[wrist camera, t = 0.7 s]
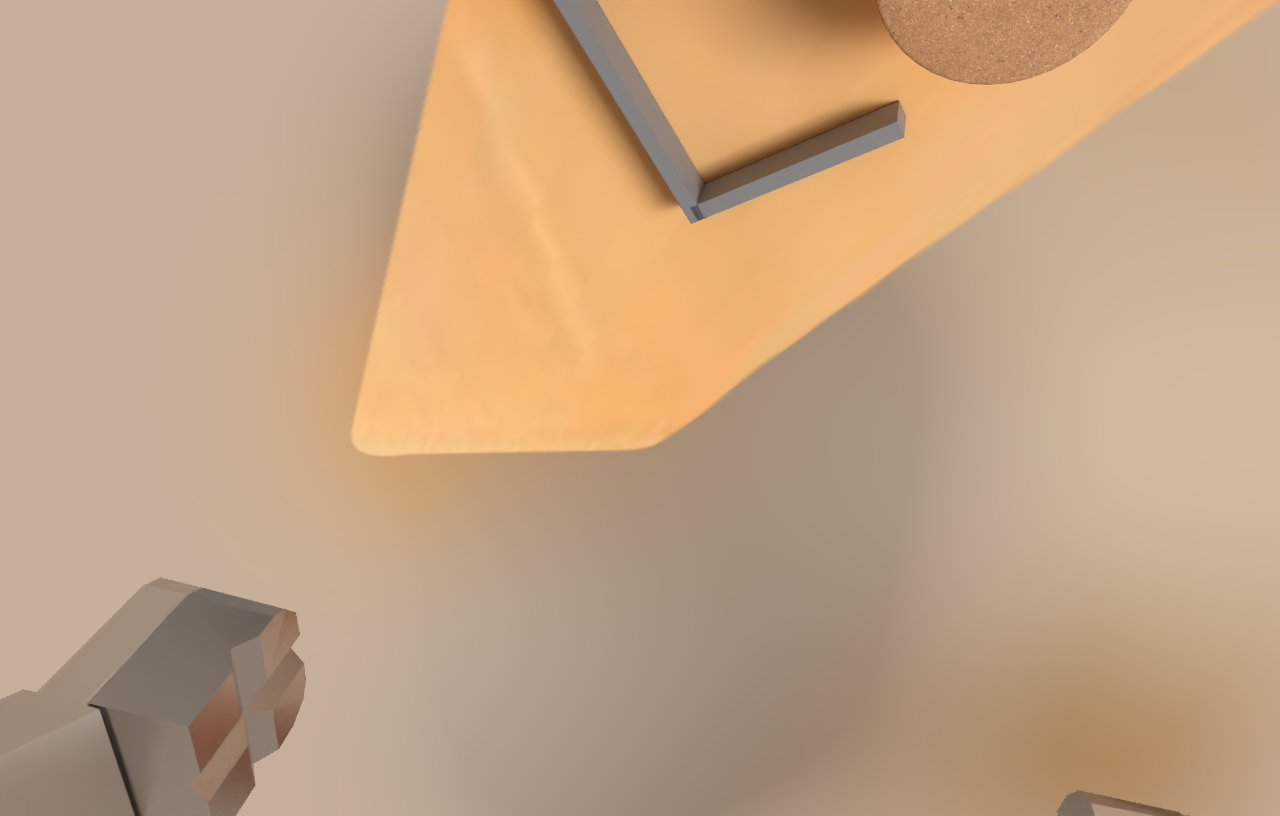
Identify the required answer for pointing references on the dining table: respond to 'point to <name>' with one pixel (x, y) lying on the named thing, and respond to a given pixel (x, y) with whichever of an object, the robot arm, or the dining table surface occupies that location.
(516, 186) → the dining table surface
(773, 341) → the dining table surface
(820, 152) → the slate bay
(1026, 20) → the lidded jar
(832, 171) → the dining table surface
